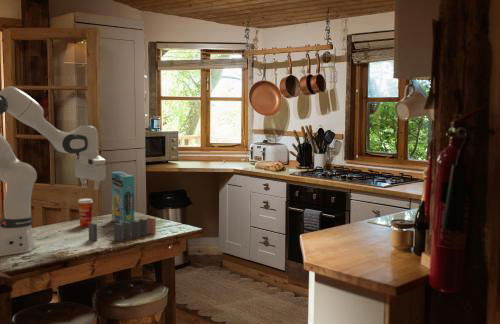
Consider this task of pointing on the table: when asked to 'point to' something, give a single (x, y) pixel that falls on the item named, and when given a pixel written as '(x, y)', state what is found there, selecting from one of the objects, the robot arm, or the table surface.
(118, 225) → the tile
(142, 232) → the tile
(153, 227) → the end tile
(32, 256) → the table surface
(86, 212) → the paper cup
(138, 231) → the tile
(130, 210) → the game box
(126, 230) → the tile
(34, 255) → the table surface
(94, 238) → the dark grey rectangular block
